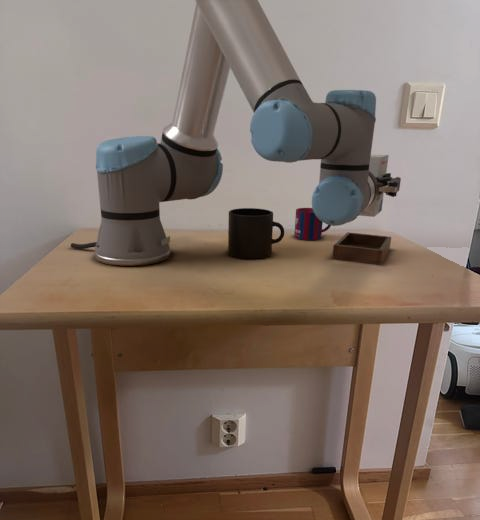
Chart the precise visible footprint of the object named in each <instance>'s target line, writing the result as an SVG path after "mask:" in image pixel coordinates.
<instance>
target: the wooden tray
mask: <svg viewBox="0 0 480 520" xmlns="http://www.w3.org/2000/svg"><path fill="white" fill-rule="evenodd" d="M391 242H392V236H387V235H378V234H369V233H368V234H367V233H360V232H359V233H358V232H349V231H348V232H346V233H345V234H344V235H343V236H342V237H340V238H339V239H338V240H337V241H336V242H335V243H334V244H333V246H332V247H333V248H332V256H331V257H332V258H331V259H332V260H340V261H347V262H355V263H361V264H362V263H364V264H370V265H380V266H381V265H382V263H383V261H384V260H385V258H386V256H387V255H388V253H389V251H390V250H391Z"/></svg>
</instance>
